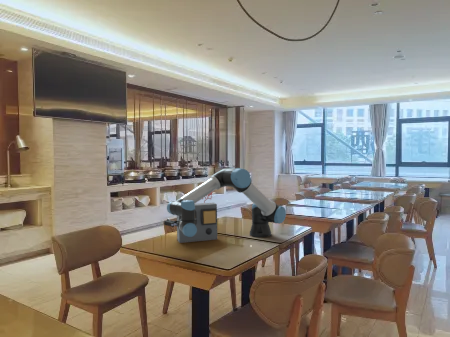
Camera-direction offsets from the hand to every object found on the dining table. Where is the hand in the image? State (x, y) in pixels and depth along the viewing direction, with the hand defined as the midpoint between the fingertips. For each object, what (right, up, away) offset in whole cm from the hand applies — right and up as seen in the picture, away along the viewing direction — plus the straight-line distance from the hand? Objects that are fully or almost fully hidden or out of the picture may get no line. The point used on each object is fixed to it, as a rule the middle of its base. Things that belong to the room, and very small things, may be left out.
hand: (178, 219), depth 222 cm
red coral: (+12, -14, +54) cm, 57 cm away
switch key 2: (+19, -4, +10) cm, 22 cm away
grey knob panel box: (+11, -16, +14) cm, 24 cm away
